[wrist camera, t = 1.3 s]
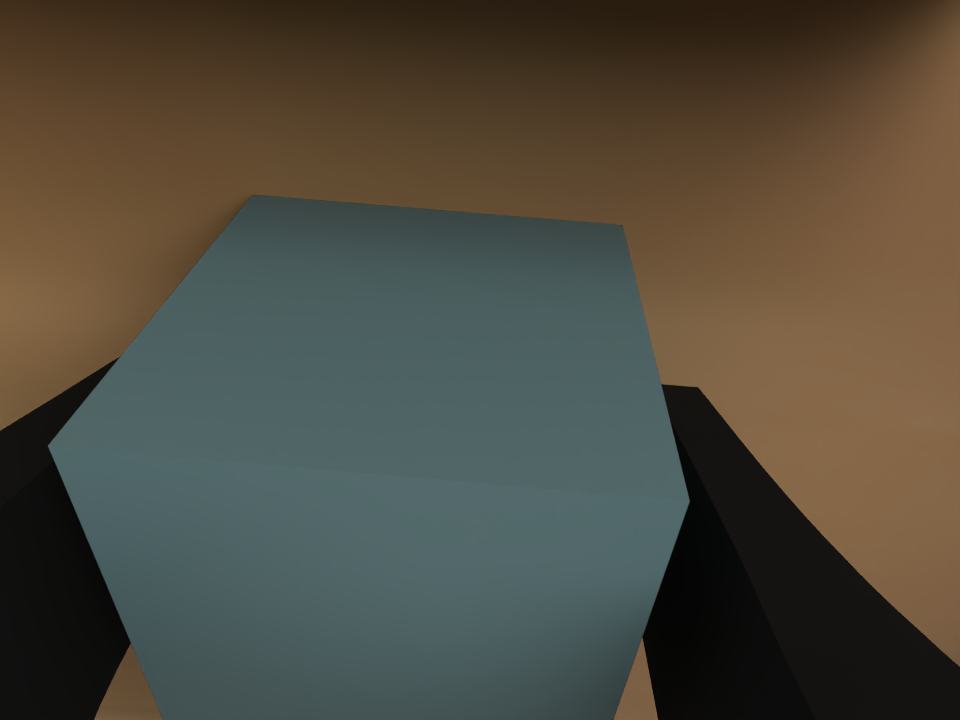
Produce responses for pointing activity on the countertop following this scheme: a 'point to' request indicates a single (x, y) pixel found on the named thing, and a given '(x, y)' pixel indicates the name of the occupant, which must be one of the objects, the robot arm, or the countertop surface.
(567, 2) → the countertop surface
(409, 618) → the teal cube
